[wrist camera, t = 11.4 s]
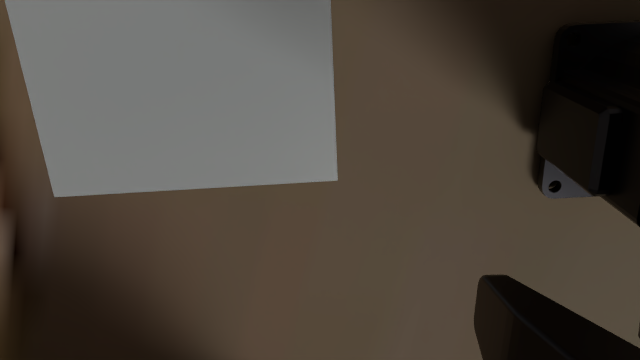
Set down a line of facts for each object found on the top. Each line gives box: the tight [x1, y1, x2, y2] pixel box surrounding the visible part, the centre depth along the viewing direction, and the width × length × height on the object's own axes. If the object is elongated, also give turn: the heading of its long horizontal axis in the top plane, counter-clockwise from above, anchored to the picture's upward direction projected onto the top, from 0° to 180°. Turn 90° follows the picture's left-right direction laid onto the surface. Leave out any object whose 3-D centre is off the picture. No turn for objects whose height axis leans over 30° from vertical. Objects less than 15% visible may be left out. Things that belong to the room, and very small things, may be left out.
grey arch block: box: [5, 0, 338, 197], centre depth 15 cm, size 7×7×7 cm
